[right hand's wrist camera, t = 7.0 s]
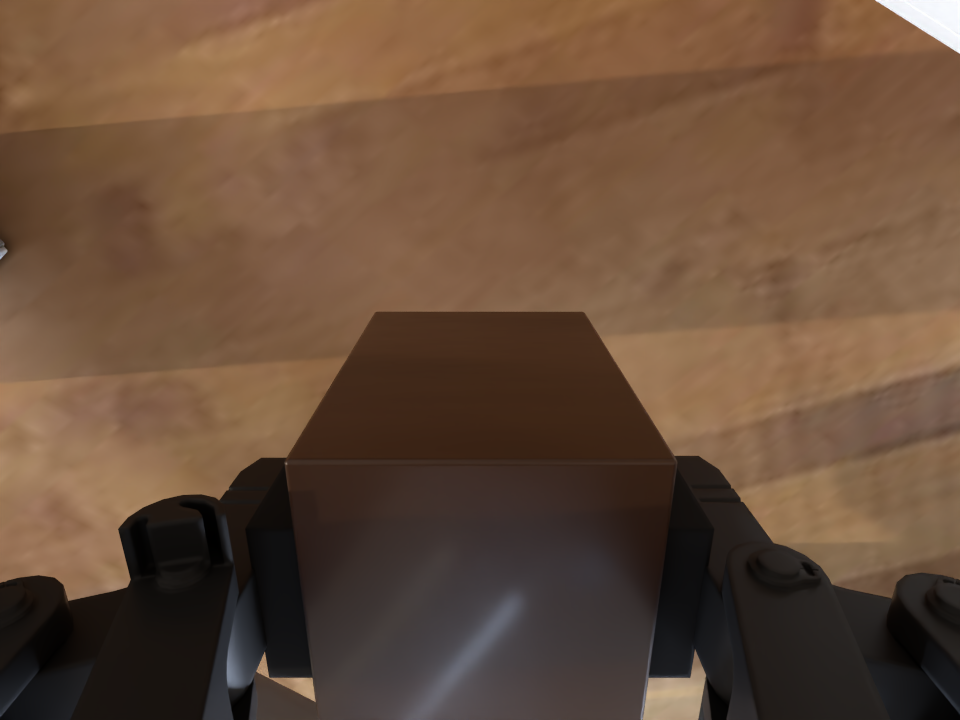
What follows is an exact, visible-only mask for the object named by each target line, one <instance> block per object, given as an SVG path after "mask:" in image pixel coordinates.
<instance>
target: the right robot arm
mask: <svg viewBox="0 0 960 720" xmlns="http://www.w3.org/2000/svg"><path fill="white" fill-rule="evenodd" d="M674 457H675V458H676V460H677V470H676V477H675V484H674V492H673V499H672V507H671V514H670V521H669V529H668V536H667V544H666V551H665V559H664V566H663V573H662V581H661V588H660V596H659V603H658V611H657V618H656V625H655V633H654V640H653V648H652V655H651V662H650V670H649V677H648V678H690V676H691V670H692V664H693V657H694V651H695V650H696V652H697V654H698V657H699V659H700V661H701V664H702V666H703V668H704V671H705V673H706V679H705V685H704V691H703V696H702V702H701V708H700V714H699V719H698V720H960V580H958V579H954V578H951V577H947V576H943V575H936V574H928V573H917V574H910V575H905V576H904V577H903V578H902V579H900V580H899V581H898V582H897V584H896V587H895V590H894V594H893V597H892V598H887V597H882V596H878V595H873V594H868V593H863V592H859V591H854V590H849V589H845V588H842V587H838V586H834V585H832V584H831V582H830V580H829V578H828V577H827V575H826V574H825V573H824V571H823V570H822V568H821V567H820V566H819V565H817V564H816V563H815V562H813V561H812V560H811V559H809V558H808V557H807V556H805V555H804V554H801V553H799V552H797V551H795V550H793V549H791V548H788V547H786V546H782V545H778V544H774V543H773V542H772V541H771V539H770V538H769V536H768V535H767V534H766V532H765V531H764V530H763V528H762V527H761V526H760V524H759V523H758V522H757V520H756V519H755V518H754V516H753V515H752V513H751V512H750V511H749V509H748V508H747V507H746V505H745V504H744V503H743V502H741V500H740V497H739V496H738V495H737V493H736V492H735V490H734V489H731V485H730V484H729V482H728V481H727V480H726V478H725V477H724V476H723V474H722V473H721V472H720V470H719V469H717V468H716V467H714V466H713V465H711V464H710V463H708V462H707V461H705V460H704V459H702V458H701V457H699V456H674ZM285 460H286V458H260V459H259V460H257V461H256V462H254V463H253V464H251V465H250V466H248V467H247V468H245V469H244V470H242V471H241V472H240V473H239V475H238V476H237V477H236V479H235V480H234V481H233V483H232V484H231V485H230V487H229V491H226V492H225V494H224V495H223V496H222V498H221V499H220V500H218V499H216V498H214V497H210V496H206V495H181V496H177V497H172V498H167V499H163V500H161V501H158V502H156V503H153V504H151V505H148V506H146V507H143V508H142V509H140V510H139V511H137V512H136V513H134V514H133V515H131V516H130V517H128V518H127V519H126V521H125V522H124V523H123V524H122V525H121V526H120V528H119V529H118V530H119V534H120V538H121V542H122V546H123V550H124V554H125V558H126V562H127V566H128V570H129V574H130V578H131V581H130V583H129V585H128V587H127V588H124V589H120V590H117V591H113V592H108V593H104V594H99V595H94V596H90V597H85V598H80V599H76V600H71V601H68V599H67V596H66V592H65V589H64V586H63V584H62V583H60V582H59V581H58V580H57V579H55V578H53V577H46V576H39V575H38V576H30V577H22V578H16V579H12V580H8V581H7V582H2V583H0V720H318V715H317V707H316V702H314V701H312V700H310V699H308V698H306V697H304V696H302V695H300V694H298V693H296V692H295V691H293V690H291V689H289V688H287V687H285V686H283V685H281V684H279V683H277V682H275V681H273V680H271V679H269V678H313V677H312V669H311V661H310V654H309V646H308V638H307V631H306V623H305V615H304V608H303V600H302V592H301V585H300V577H299V569H298V562H297V554H296V547H295V539H294V531H293V524H292V516H291V508H290V501H289V493H288V485H287V478H286V470H285ZM264 652H265V654H266V660H267V666H268V672H269V678H267V677H265V676H263V675H261V674H259V673H257V672H256V670H257V668H258V666H259V663H260V661H261V659H262V656H263V654H264Z"/></svg>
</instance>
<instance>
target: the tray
mask: <svg viewBox="0 0 960 720" xmlns="http://www.w3.org/2000/svg"><path fill="white" fill-rule="evenodd" d="M876 1H877V2H879V3H880V4H882V5H884V6H885V7H887V8H888V9H890V10H892V11H893V12H895V13H896V14H898V15H899V16H901V17H903V18H904V19H906V20H907V21H909V22H911V23H912V24H914V25H915V26H917V27H918V28H920V29H922V30H923V31H925V32H926V33H928V34H930V35H931V36H933V37H934V38H936V39H937V40H939V41H941V42H942V43H944V44H945V45H947V46H949V47H950V48H952V49H953V50H955V51H956V52H958V53H960V0H876Z"/></svg>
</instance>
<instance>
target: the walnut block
mask: <svg viewBox="0 0 960 720" xmlns="http://www.w3.org/2000/svg"><path fill="white" fill-rule="evenodd" d="M285 470H286V478H287V485H288V493H289V501H290V508H291V516H292V524H293V531H294V539H295V547H296V554H297V562H298V569H299V577H300V585H301V592H302V600H303V608H304V615H305V623H306V631H307V638H308V646H309V654H310V661H311V669H312V677H313V684H314V692H315V700H316V707H317V715H318V720H643V714H644V707H645V700H646V692H647V685H648V677H649V670H650V662H651V655H652V648H653V640H654V633H655V625H656V618H657V611H658V603H659V596H660V588H661V581H662V573H663V566H664V559H665V551H666V544H667V536H668V529H669V521H670V514H671V507H672V499H673V492H674V484H675V477H676V470H677V460H676V458H675V457H674V455H673V453H672V452H671V450H670V449H669V447H668V445H667V444H666V442H665V441H664V439H663V437H662V436H661V434H660V433H659V431H658V429H657V428H656V426H655V425H654V423H653V421H652V420H651V418H650V417H649V415H648V413H647V412H646V410H645V409H644V407H643V405H642V404H641V402H640V401H639V399H638V397H637V396H636V394H635V393H634V391H633V389H632V388H631V386H630V385H629V383H628V381H627V380H626V378H625V377H624V375H623V374H622V372H621V370H620V369H619V367H618V366H617V364H616V362H615V361H614V359H613V358H612V356H611V354H610V353H609V351H608V350H607V348H606V346H605V345H604V343H603V342H602V340H601V338H600V337H599V335H598V334H597V332H596V330H595V329H594V327H593V326H592V324H591V322H590V321H589V319H588V318H587V316H586V314H585V313H584V312H376V313H375V314H374V315H373V317H372V318H371V320H370V322H369V323H368V325H367V327H366V328H365V330H364V332H363V333H362V335H361V337H360V338H359V340H358V342H357V343H356V345H355V346H354V348H353V350H352V351H351V353H350V355H349V356H348V358H347V360H346V361H345V363H344V365H343V366H342V368H341V369H340V371H339V373H338V374H337V376H336V378H335V379H334V381H333V383H332V384H331V386H330V388H329V389H328V391H327V392H326V394H325V396H324V397H323V399H322V401H321V402H320V404H319V406H318V407H317V409H316V411H315V412H314V414H313V416H312V417H311V419H310V420H309V422H308V424H307V425H306V427H305V429H304V430H303V432H302V434H301V435H300V437H299V439H298V440H297V442H296V443H295V445H294V447H293V448H292V450H291V452H290V453H289V455H288V457H287V458H286V460H285Z"/></svg>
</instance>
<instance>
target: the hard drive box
mask: <svg viewBox="0 0 960 720" xmlns="http://www.w3.org/2000/svg"><path fill="white" fill-rule="evenodd" d="M4 244H5V243H4V242H3V241H2V240H1V239H0V259H1V258H2V257H3V256H4V255H5V254H6V253H7V249H6V248H5V247H4Z"/></svg>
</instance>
